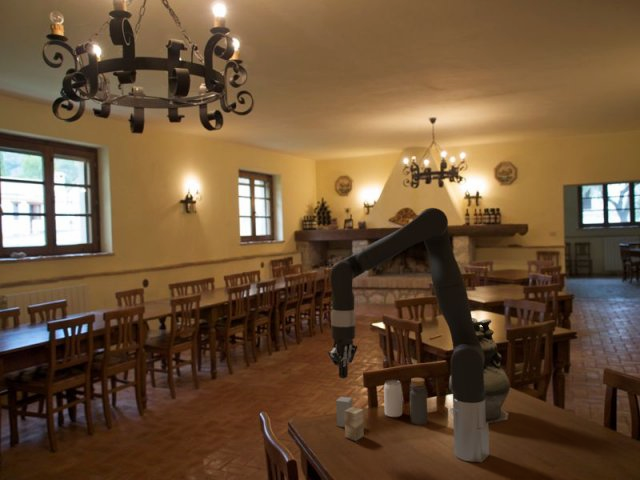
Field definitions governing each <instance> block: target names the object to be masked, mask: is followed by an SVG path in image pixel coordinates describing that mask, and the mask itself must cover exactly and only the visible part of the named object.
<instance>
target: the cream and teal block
mask: <svg viewBox="0 0 640 480" xmlns="http://www.w3.org/2000/svg"><path fill="white" fill-rule="evenodd" d="M344 415H345V427H344V437H345V439H347V440H351V441H355V442H357V441H359V440H360V439H362V438H364V437H365V434H364V433H365V432H364V409H362V408H358V407H354V406H353V407H351V408H349V409H347V410H345V411H344Z"/></svg>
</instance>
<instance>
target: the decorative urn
mask: <svg viewBox="0 0 640 480" xmlns="http://www.w3.org/2000/svg"><path fill="white" fill-rule="evenodd" d="M472 322H473V326H474V329H475V332H476V335H477V337H478V340H479V343H480V345H481V348H482V350H483V353H484V357H485V361H484V389H485V415H486V423H488V424H492V423H497V422H500V421H505V420H508V419H509V418H508V416H509V413H508V412H506V411H504V409H502V408H503V405H504V403H505V401H506V399H507V397H508V394H509V393H510V389H511V384H510V380H509V377H508V376H507V374H506V372H505V371H504V370H503V369H502V368H501V361H502V359H503V357H502V355H501V354H500V353H499V351H498V345H497V343H496V342H495V340H494V338H493V335H494V333H495V331H494V330H492V329H491V328H490V324H491V323H492V319H491V318H489V319H487V318H486V319H482V320H479V321H478V319H477V318H475V317H472ZM448 381H449V382H448V388H449V390H450V392H451V394H452V395H453V391H452V384H451V375H450V376H449V379H448ZM448 412H449V413H451V414H453V407H452V408H451V407H450V409H449V411H448Z"/></svg>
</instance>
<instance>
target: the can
mask: <svg viewBox="0 0 640 480" xmlns="http://www.w3.org/2000/svg"><path fill="white" fill-rule="evenodd" d="M383 397H384V400H383V401H384V402H383V403H384V404H383V405H384V415H385V416H387V417H390V418H400V417H401V416H402V415H403V393H402V384H401V381H399V380H397V379H389V380H385V381H384V385H383Z"/></svg>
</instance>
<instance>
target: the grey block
mask: <svg viewBox="0 0 640 480" xmlns="http://www.w3.org/2000/svg"><path fill="white" fill-rule="evenodd" d="M335 403H336V404H335V405H336V427H341V428H345V415H344V411H345V410H347V409H349V408H351V407H354V406H353V405H354V404H353V397H346V396H339V397H338V398H337V399H336V400H335Z"/></svg>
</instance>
